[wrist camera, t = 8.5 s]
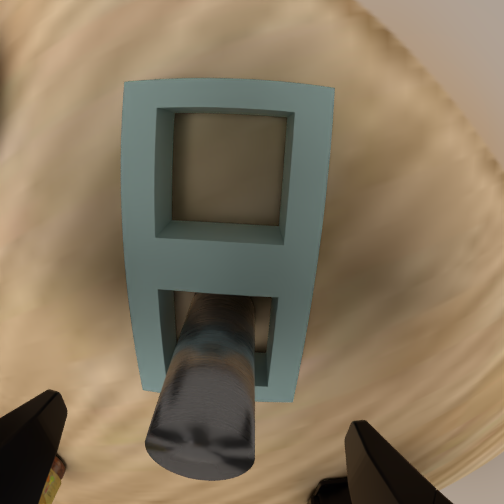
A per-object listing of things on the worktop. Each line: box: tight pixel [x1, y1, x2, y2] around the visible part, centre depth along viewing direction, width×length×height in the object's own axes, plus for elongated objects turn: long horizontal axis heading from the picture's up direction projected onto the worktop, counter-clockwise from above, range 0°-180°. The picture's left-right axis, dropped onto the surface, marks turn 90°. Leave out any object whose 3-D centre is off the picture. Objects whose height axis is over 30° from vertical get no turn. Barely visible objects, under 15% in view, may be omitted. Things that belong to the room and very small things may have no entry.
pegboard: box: [121, 78, 335, 402], centre depth 13 cm, size 7×13×2 cm, turn 176°
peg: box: [145, 292, 255, 481], centre depth 11 cm, size 3×3×8 cm
